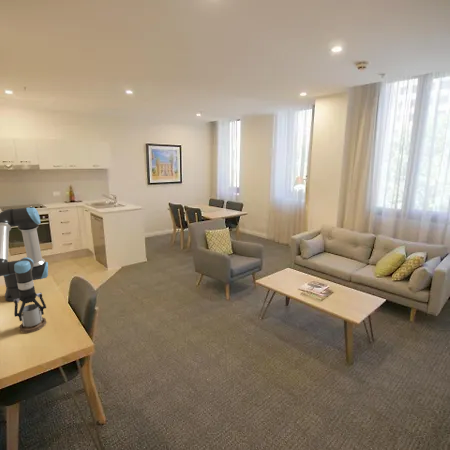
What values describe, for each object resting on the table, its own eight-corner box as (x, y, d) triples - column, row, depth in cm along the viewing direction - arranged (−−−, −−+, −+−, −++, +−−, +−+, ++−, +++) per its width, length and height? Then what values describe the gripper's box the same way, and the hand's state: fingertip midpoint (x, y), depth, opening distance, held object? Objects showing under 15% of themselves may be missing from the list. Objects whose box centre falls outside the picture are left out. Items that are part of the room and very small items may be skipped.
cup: (32, 327, 167) (30, 312, 164) (20, 325, 168) (17, 310, 166) (44, 319, 175) (41, 304, 172) (32, 317, 176) (30, 303, 174)
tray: (19, 324, 173) (19, 322, 173) (44, 317, 181) (44, 314, 180) (21, 335, 163) (20, 332, 163) (47, 327, 171) (47, 324, 170)
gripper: (3, 295, 156) (11, 331, 162) (48, 284, 169) (54, 319, 175) (3, 290, 162) (10, 325, 168) (46, 280, 175) (52, 313, 180)
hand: (32, 322), depth 171 cm, fingers closed on cup, 8 cm apart
